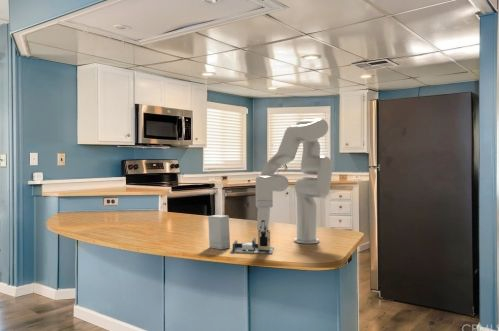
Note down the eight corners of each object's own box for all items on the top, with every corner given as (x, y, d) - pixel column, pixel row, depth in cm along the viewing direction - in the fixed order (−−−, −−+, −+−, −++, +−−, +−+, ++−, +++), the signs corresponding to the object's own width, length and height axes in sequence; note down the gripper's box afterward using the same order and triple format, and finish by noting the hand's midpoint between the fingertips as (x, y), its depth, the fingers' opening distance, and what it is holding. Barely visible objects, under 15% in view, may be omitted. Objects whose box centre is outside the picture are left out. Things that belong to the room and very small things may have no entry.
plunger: (244, 246, 194) (244, 237, 193) (256, 247, 193) (256, 237, 193) (241, 251, 184) (241, 241, 184) (253, 251, 184) (253, 241, 184)
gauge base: (234, 247, 197) (234, 239, 197) (273, 248, 194) (273, 240, 194) (230, 253, 185) (230, 244, 185) (272, 254, 183) (272, 246, 182)
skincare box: (230, 248, 195) (230, 215, 195) (221, 250, 190) (221, 216, 190) (217, 245, 200) (217, 214, 200) (207, 247, 196) (207, 215, 196)
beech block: (259, 247, 192) (259, 229, 192) (270, 247, 191) (270, 229, 191) (258, 249, 187) (258, 231, 187) (269, 250, 186) (269, 231, 186)
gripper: (257, 201, 198) (257, 240, 198) (253, 205, 181) (253, 248, 181) (273, 201, 197) (273, 241, 197) (271, 206, 180) (271, 249, 180)
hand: (264, 244), depth 189 cm, fingers closed on beech block, 5 cm apart
